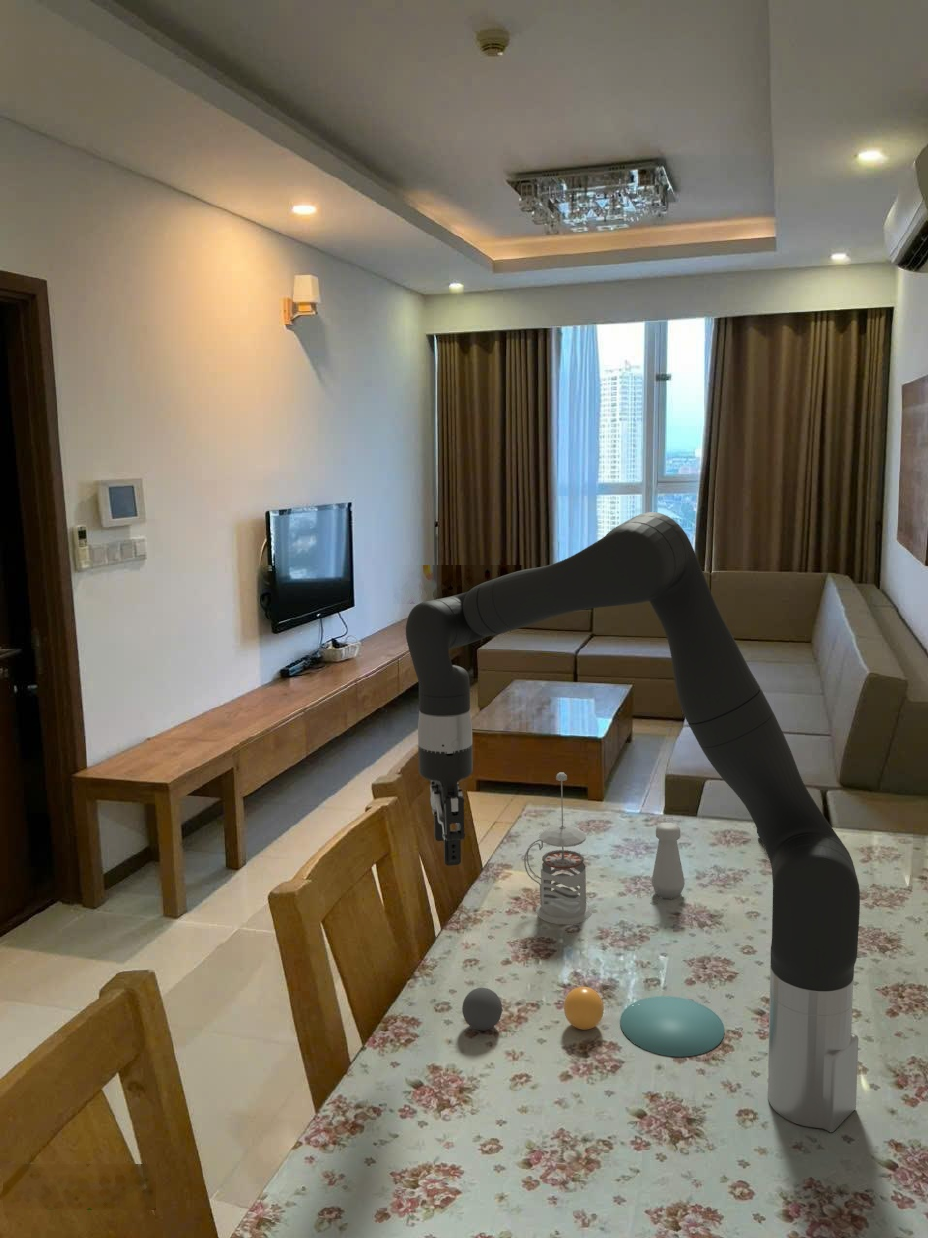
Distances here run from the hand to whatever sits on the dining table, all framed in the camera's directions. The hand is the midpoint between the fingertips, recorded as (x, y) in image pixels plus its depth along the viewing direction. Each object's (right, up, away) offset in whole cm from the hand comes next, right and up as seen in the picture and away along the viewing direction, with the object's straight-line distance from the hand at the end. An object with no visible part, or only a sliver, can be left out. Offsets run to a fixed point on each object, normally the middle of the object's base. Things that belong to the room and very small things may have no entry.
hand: (447, 851), depth 136 cm
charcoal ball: (+5, -21, -3) cm, 22 cm away
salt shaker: (+39, -16, +36) cm, 55 cm away
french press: (+19, -18, +31) cm, 41 cm away
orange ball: (+19, -21, -3) cm, 28 cm away
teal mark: (+31, -23, -4) cm, 39 cm away
